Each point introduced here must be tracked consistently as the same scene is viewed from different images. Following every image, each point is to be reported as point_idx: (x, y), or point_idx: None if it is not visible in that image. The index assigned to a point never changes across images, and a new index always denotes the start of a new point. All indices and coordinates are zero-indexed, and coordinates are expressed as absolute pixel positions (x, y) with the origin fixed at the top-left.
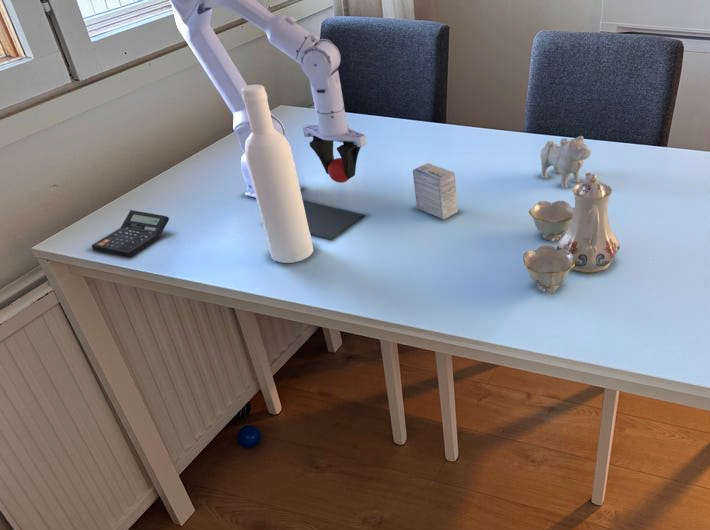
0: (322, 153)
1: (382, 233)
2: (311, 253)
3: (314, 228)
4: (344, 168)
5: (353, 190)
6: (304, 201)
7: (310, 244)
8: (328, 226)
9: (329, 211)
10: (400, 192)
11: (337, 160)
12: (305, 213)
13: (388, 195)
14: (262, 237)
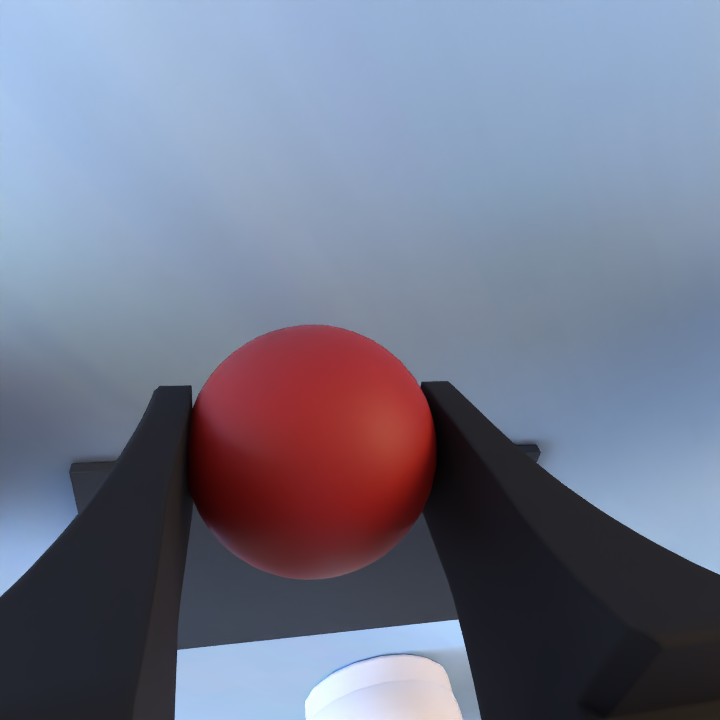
0: (173, 700)
1: (661, 510)
2: (448, 678)
3: (363, 606)
4: (437, 544)
5: (293, 190)
6: (94, 480)
7: (459, 710)
8: (416, 578)
9: None
10: (701, 85)
11: (340, 567)
12: (221, 554)
13: (613, 171)
14: (186, 692)
